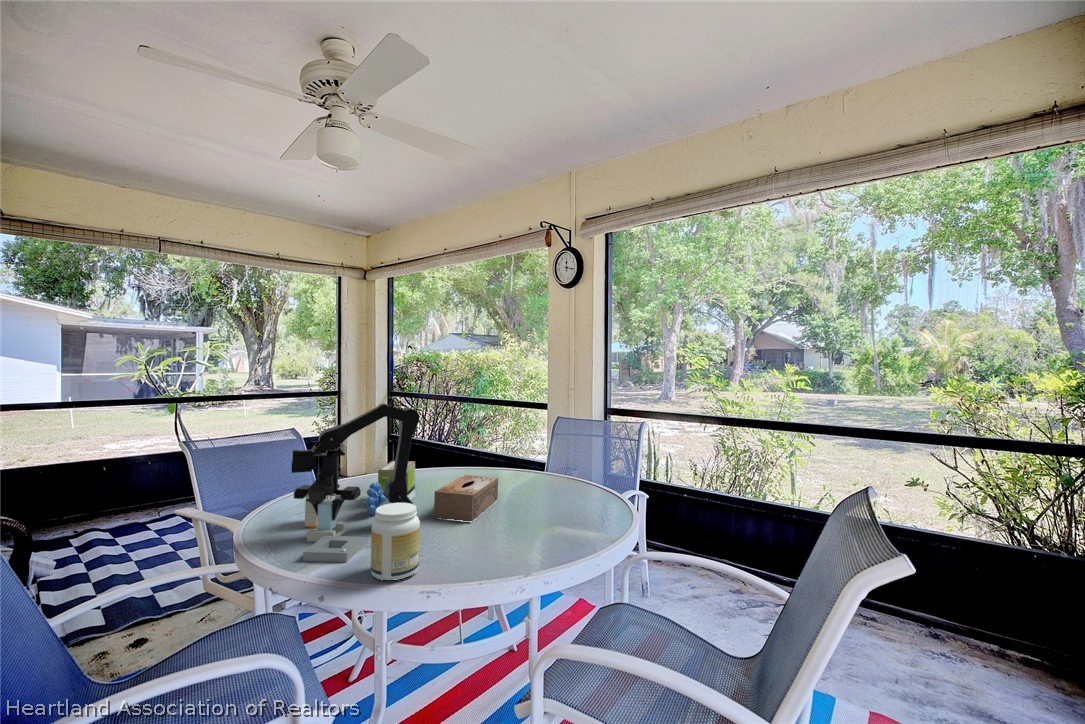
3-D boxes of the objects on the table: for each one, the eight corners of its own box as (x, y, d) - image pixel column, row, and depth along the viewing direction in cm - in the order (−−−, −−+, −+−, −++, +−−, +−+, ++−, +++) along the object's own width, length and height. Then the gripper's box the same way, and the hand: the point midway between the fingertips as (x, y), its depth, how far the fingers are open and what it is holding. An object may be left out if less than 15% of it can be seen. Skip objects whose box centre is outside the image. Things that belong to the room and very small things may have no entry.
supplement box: (316, 528, 154) (317, 488, 154) (304, 527, 155) (305, 487, 155) (333, 520, 162) (333, 482, 162) (320, 519, 163) (321, 481, 163)
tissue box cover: (471, 524, 163) (472, 495, 163) (433, 519, 166) (434, 491, 166) (497, 502, 188) (498, 477, 188) (464, 499, 191) (464, 474, 191)
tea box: (391, 496, 192) (392, 460, 192) (415, 497, 192) (416, 460, 192) (376, 507, 177) (377, 468, 177) (403, 508, 177) (404, 469, 177)
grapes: (380, 521, 162) (381, 486, 162) (360, 520, 163) (361, 485, 163) (392, 510, 174) (392, 478, 174) (373, 509, 174) (374, 477, 174)
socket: (363, 545, 141) (364, 535, 141) (346, 562, 129) (346, 551, 129) (324, 544, 141) (324, 534, 141) (303, 560, 129) (303, 550, 129)
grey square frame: (345, 531, 152) (346, 522, 152) (332, 542, 143) (333, 532, 143) (321, 530, 152) (321, 521, 152) (306, 541, 143) (307, 531, 143)
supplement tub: (425, 563, 130) (426, 502, 130) (409, 584, 118) (411, 516, 118) (381, 561, 130) (383, 500, 130) (362, 581, 118) (363, 514, 118)
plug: (336, 526, 149) (336, 500, 149) (330, 530, 145) (330, 504, 145) (323, 525, 149) (324, 500, 149) (317, 530, 145) (317, 504, 145)
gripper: (284, 475, 140) (282, 528, 140) (346, 477, 139) (345, 530, 139) (303, 467, 151) (302, 515, 151) (361, 468, 150) (360, 517, 150)
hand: (327, 520), depth 147 cm, fingers closed on plug, 4 cm apart
